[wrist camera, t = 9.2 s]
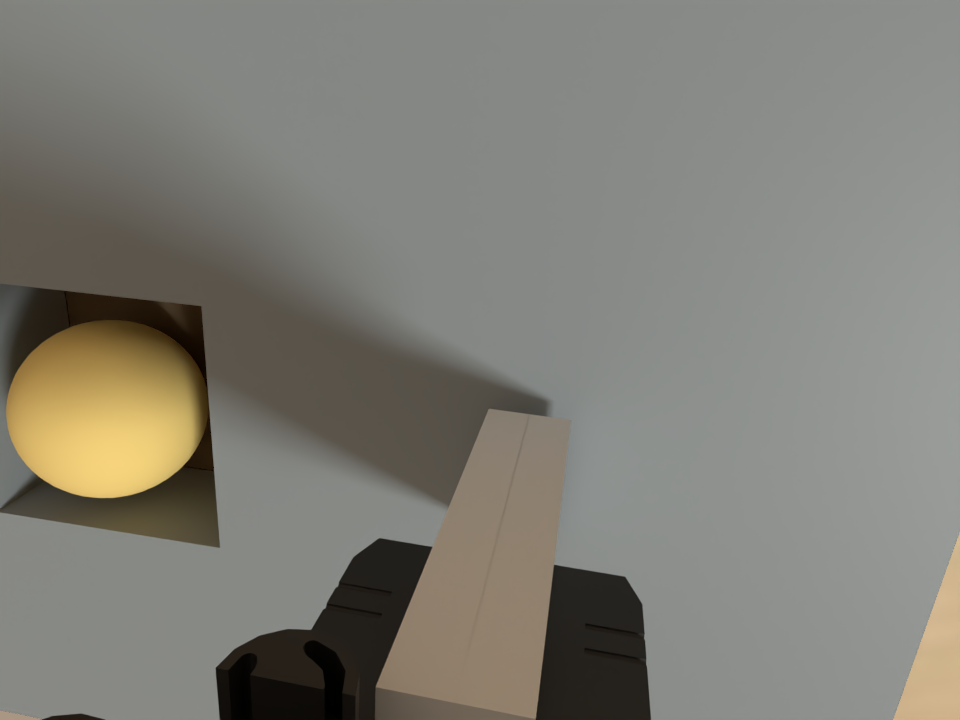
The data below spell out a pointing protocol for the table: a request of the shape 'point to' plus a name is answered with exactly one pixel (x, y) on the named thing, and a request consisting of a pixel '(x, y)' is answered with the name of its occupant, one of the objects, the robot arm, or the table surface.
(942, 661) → the table surface
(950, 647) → the table surface
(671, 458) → the board
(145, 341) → the ball
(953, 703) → the table surface
